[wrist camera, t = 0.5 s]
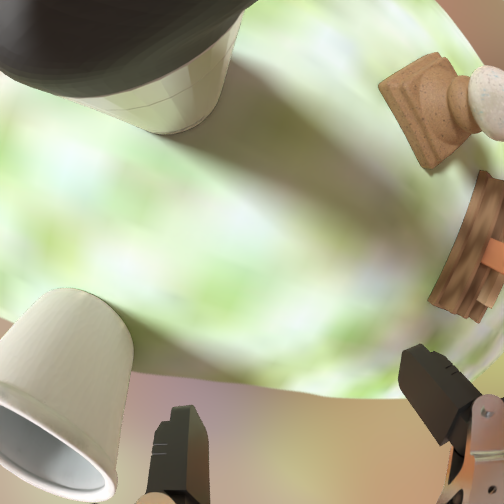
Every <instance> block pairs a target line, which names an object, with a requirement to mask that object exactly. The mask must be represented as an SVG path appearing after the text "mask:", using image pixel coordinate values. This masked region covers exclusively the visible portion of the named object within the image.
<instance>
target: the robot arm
mask: <svg viewBox="0 0 504 504" xmlns="http://www.w3.org/2000/svg"><path fill="white" fill-rule="evenodd" d="M256 1H258V0H0V71H2V72H3V73H4V74H5V75H7V76H8V77H10V78H12V79H13V80H15V81H17V82H20V83H22V84H25V85H27V86H30V87H32V88H35V89H38V90H41V91H44V92H48V93H51V94H53V95H56V96H59V97H61V98H64V99H67V100H70V101H73V102H75V103H78V104H81V105H83V106H87V107H89V108H92V109H95V110H97V111H100V112H102V113H105V114H107V115H110V116H112V117H115V118H117V119H120V120H122V121H124V122H127V123H129V124H132V125H134V126H136V127H139V128H141V129H144V130H146V131H149V132H151V133H156V134H175V133H180V132H184V131H186V130H188V129H191V128H193V127H195V126H196V125H198V124H199V123H201V122H202V121H203V120H204V119H205V118H206V117H207V116H208V115H209V114H210V113H211V112H212V111H213V109H214V108H215V106H216V104H217V102H218V100H219V97H220V95H221V91H222V87H223V84H224V80H225V77H226V73H227V69H228V66H229V62H230V59H231V55H232V52H233V48H234V45H235V41H236V38H237V35H238V31H239V28H240V25H241V21H242V18H243V14H244V11H245V9H247V8H248V7H250V6H251V5H252V4H254V3H255V2H256ZM398 382H399V387H400V389H401V391H402V393H403V394H404V395H405V397H406V398H407V399H408V401H409V402H410V404H411V405H412V407H413V408H414V409H415V411H416V412H417V413H418V415H419V416H420V418H421V419H422V421H423V422H424V424H425V425H426V426H427V428H428V429H429V431H430V432H431V434H432V435H433V437H434V438H435V439H436V441H437V442H438V444H439V445H440V446H442V445H443V444H445V443H447V442H448V441H450V443H451V444H452V446H451V449H450V455H449V461H448V467H447V473H446V478H445V483H444V487H443V490H442V493H441V495H440V497H439V499H438V501H437V504H504V397H503V398H499V397H497V396H495V395H492V394H486V395H482V394H481V393H480V392H479V391H478V390H477V389H476V388H475V387H474V386H473V384H472V383H471V382H470V381H469V380H468V379H467V378H466V377H465V376H464V375H463V374H462V373H461V372H459V370H458V369H457V368H456V367H455V366H453V365H452V363H451V362H450V361H449V360H448V359H447V358H446V357H445V356H443V355H441V354H439V353H437V352H435V351H433V352H431V353H430V352H429V351H428V350H427V348H426V347H425V346H423V345H422V344H418V345H416V346H413V347H411V348H409V349H406V350H404V351H403V352H402V357H401V363H400V370H399V376H398ZM153 445H154V446H153V448H152V456H151V462H150V469H149V477H148V485H147V490H146V493H145V495H143V496H141V497H140V498H139V499H138V500H137V502H136V503H135V504H210V485H209V484H210V483H209V441H208V435H207V431H206V429H205V427H204V425H203V423H202V421H201V419H200V417H199V415H198V413H197V411H196V409H195V407H194V406H193V405H188V406H178V407H173V408H172V410H171V417H170V421H164V422H161V424H160V425H159V427H158V428H157V430H156V431H155V435H154V442H153ZM94 504H95V503H94Z"/></svg>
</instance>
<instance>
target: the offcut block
mask: <svg viewBox="0 0 504 504" xmlns="http://www.w3.org/2000/svg"><path fill="white" fill-rule="evenodd" d="M503 284H504V275H503V274H501V273H499V272H497V271H496V270H494V269H492V268H491V270H490V272H489V274H488V277H487V279H486V281H485V283H484V285H483V287H482V290H481V292H480V294H479V296H478V298H477V300H478V301H479V302H481V303H482V304H484V305H485V306H487V307H489V308H491V309H492V307H493V305H494V303H495V301H496V299H497V297H498V295H499V293H500V291H501V288H502V286H503Z"/></svg>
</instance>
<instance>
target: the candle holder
mask: <svg viewBox="0 0 504 504" xmlns="http://www.w3.org/2000/svg"><path fill="white" fill-rule="evenodd" d="M378 88H379V90H380V92H381V94H382V95H383V97H384V99H385V101H386V102H387V104H388V106H389V107H390V109H391V111H392V113H393V114H394V116H395V118H396V120H397V121H398V123H399V125H400V127H401V129H402V130H403V132H404V134H405V136H406V138H407V140H408V142H409V144H410V146H411V148H412V150H413V152H414V154H415V156H416V158H417V160H418V162H419V163H420V165H421V167H422V168H429V169H433V168H435V167H436V166H437V165H439V164H440V163H441V162H442V161H443V160H444V159H445V158H447V157H448V156H449V155H451V154H452V153H453V152H454V151H455V150H456V149H457V148H458V147H459V146H460V145H462V144H463V143H464V142H465V141H466V139H467V138H468V137H469V136H470V135H471V134H476V133H479V132H482V131H483V132H484V133H485V134H486V135H487V136H488V137H489V138H491V139H493V140H495V141H500V142H504V71H503V70H501V69H499V68H496V67H493V66H481V67H479V68H477V69H475V70H474V71H473V73H472V75H471V77H468V76H463V75H461V76H458V75H457V74H456V72H455V70H454V68H453V67H452V65H451V63H450V62H449V60H448V59H447V58H446V57H443V58H442V57H441V56H440V54H439V53H438V52H434V53H431V54H427V55H425V56H423V57H421V58H419V59H417V60H416V61H414V62H412V63H411V64H409V65H407V66H406V67H404V68H402V69H401V70H399V71H397V72H396V73H394V74H392V75H391V76H389V77H388V78H386V79H385V80H383V81H382V82H381V83H379V85H378Z"/></svg>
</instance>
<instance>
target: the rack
mask: <svg viewBox="0 0 504 504" xmlns="http://www.w3.org/2000/svg"><path fill="white" fill-rule="evenodd" d="M503 237H504V180H499V179H495V178H492V176H491V175H490V174H489V173H488V172H487V171H481V170H480V171H479V175H478V178H477V182H476V185H475V188H474V191H473V194H472V198H471V201H470V203H469V206H468V209H467V212H466V215H465V218H464V220H463V223H462V226H461V228H460V231H459V233H458V236H457V238H456V241H455V243H454V246H453V248H452V250H451V253H450V255H449V257H448V259H447V262H446V264H445V266H444V268H443V270H442V272H441V275H440V277H439V279H438V281H437V283H436V285H435V287H434V289H433V291H432V293H431V295H430V297H429V298H428V300H427V301H428V302H430V303H431V304H432V305H434V306H436V307H439V308H442V309H444V310H447V311H449V312H450V313H452V314H458V315H460V316H462V317H463V318H466V319H467V318H469V317H470V318H471V319H472V320H474V321H475V322H476V323H480V321H481V319H482V317H483V316H484V314H485V312H486V310H487V308H488V307H487V306H485V305H484V304H482V303H481V302H479V301H478V300H477V298H478V296H479V294H480V292H481V290H482V287H483V285H484V283H485V281H486V279H487V277H488V274H489V272H490V270H491V268H490V267H488V266H486V265H484V264H482V263H480V262H481V260H482V258H483V255H484V253H485V250H486V248H487V245H488V243H489V240H490V238H493V239H495V240H497V241H500V242H502V239H503Z"/></svg>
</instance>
